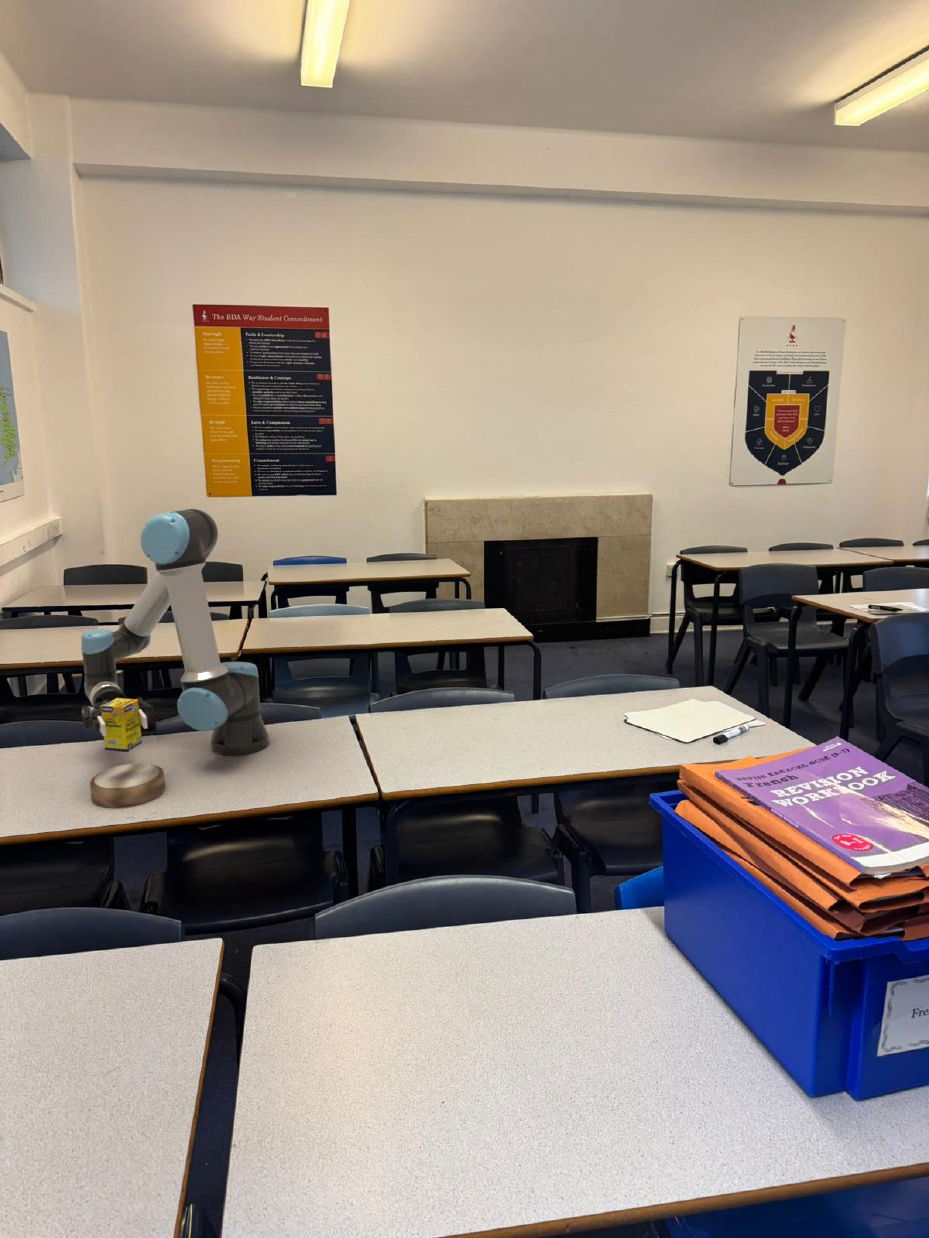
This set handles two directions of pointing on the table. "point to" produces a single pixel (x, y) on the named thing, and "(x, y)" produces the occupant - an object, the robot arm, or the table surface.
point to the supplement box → (121, 724)
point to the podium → (127, 785)
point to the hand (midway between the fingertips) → (125, 726)
